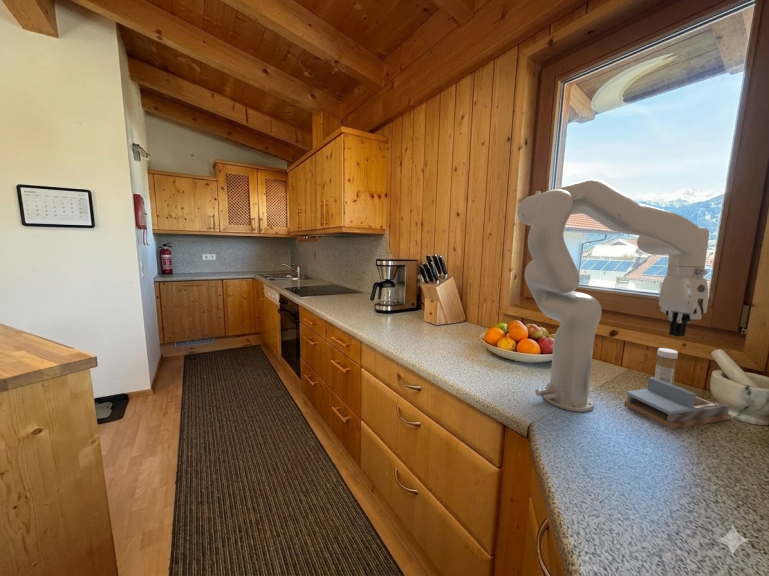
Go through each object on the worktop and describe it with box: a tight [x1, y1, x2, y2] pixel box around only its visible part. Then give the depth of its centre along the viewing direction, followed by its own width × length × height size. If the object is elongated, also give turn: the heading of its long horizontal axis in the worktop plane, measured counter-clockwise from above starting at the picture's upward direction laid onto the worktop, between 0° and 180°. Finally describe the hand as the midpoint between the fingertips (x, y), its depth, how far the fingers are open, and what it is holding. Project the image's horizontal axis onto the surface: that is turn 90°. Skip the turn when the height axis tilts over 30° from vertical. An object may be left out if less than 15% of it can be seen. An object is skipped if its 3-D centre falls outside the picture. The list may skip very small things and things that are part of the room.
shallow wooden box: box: [624, 386, 732, 430], centre depth 84 cm, size 20×12×3 cm, turn 104°
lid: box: [625, 376, 697, 415], centre depth 82 cm, size 8×11×4 cm
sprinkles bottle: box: [654, 347, 679, 385], centre depth 94 cm, size 5×5×13 cm
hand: (676, 335), depth 90 cm, fingers closed
